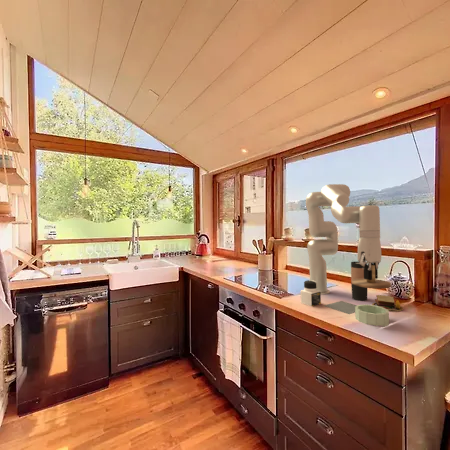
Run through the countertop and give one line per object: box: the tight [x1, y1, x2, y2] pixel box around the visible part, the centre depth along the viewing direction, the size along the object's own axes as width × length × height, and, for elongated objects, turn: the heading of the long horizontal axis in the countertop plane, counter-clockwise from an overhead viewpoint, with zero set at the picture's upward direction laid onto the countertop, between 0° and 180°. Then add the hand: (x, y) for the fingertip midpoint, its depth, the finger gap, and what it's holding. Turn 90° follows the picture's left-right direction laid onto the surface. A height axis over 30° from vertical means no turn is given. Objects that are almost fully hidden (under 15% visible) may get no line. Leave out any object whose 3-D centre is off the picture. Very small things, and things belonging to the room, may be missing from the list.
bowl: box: [354, 304, 390, 328], centre depth 104 cm, size 12×12×5 cm
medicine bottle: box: [300, 279, 322, 307], centre depth 128 cm, size 7×7×12 cm
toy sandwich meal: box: [371, 294, 404, 313], centre depth 120 cm, size 12×14×5 cm
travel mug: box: [350, 261, 368, 302], centre depth 133 cm, size 8×8×20 cm
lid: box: [352, 265, 392, 290], centre depth 104 cm, size 14×14×8 cm
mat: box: [323, 300, 358, 315], centre depth 121 cm, size 14×14×1 cm
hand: (370, 278), depth 104 cm, fingers closed on lid, 3 cm apart
